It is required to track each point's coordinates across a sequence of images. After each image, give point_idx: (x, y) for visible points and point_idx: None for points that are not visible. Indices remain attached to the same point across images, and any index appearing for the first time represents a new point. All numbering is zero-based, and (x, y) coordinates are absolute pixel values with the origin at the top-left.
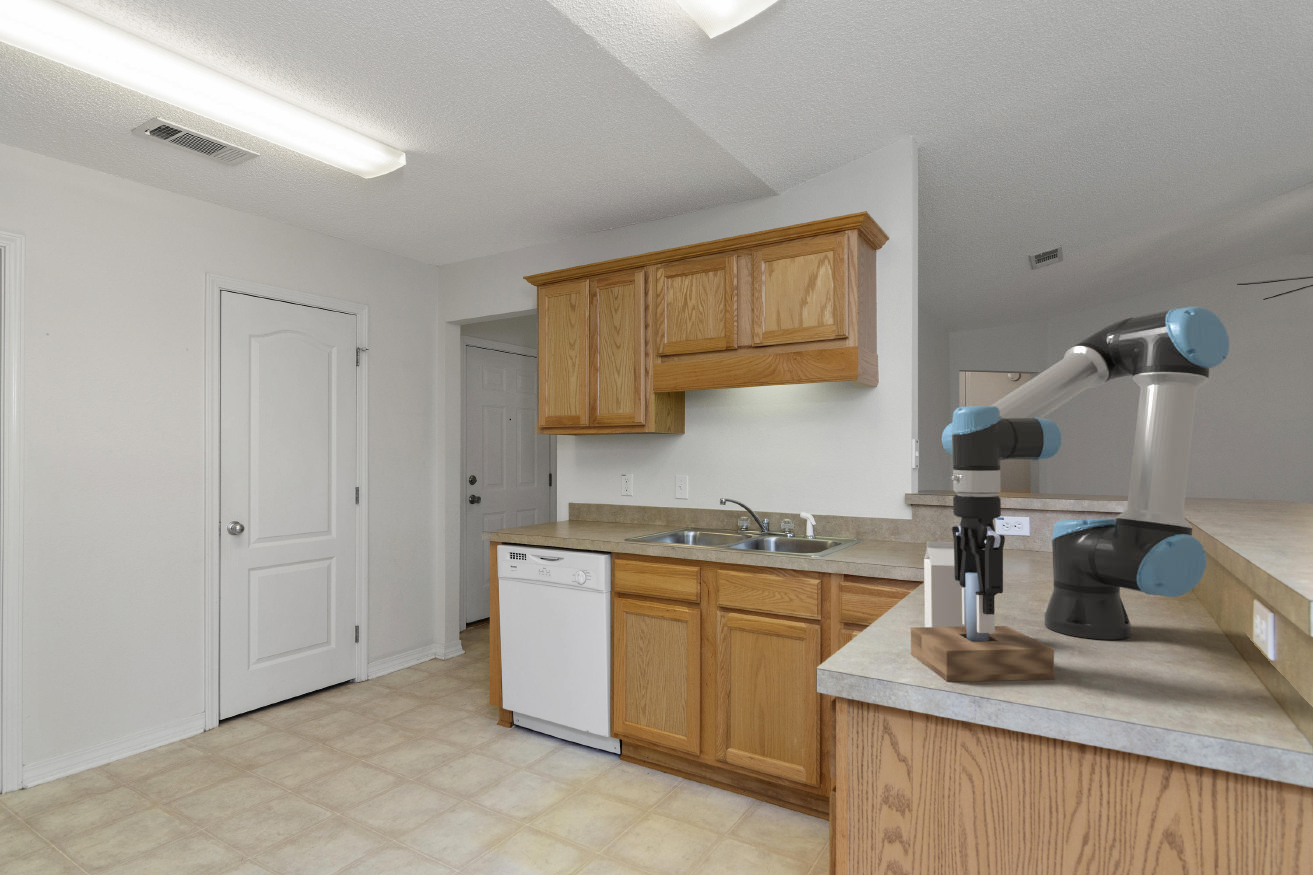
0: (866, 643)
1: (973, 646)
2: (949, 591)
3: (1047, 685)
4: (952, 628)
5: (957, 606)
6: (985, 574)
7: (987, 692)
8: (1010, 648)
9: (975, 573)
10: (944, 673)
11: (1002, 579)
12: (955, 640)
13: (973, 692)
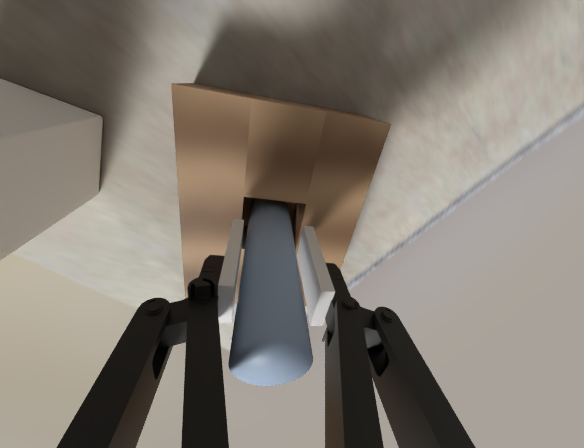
0: (133, 298)
1: None
2: None
3: (381, 152)
4: (196, 238)
5: (32, 170)
6: (382, 398)
7: (367, 250)
8: (352, 212)
9: (257, 361)
10: None
11: (418, 353)
12: None
13: (360, 264)
